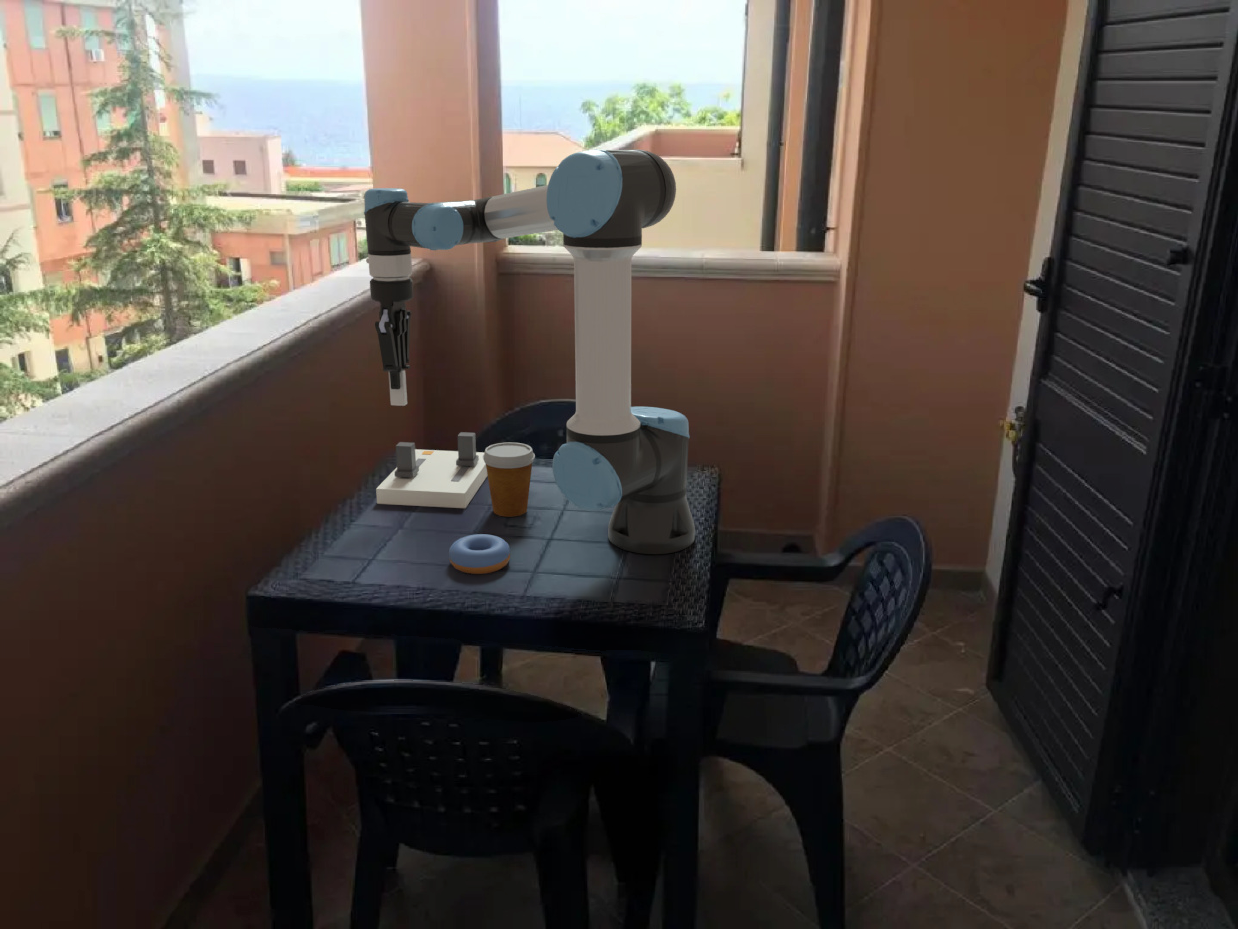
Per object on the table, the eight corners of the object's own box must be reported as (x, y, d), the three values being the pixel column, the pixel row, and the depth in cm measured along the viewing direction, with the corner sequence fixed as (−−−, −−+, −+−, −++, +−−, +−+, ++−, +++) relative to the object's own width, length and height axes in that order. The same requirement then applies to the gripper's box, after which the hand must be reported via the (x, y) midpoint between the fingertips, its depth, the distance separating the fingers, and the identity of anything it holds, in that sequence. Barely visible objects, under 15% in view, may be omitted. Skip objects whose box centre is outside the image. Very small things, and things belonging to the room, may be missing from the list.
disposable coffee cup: (532, 521, 177) (532, 458, 173) (480, 519, 178) (478, 457, 174) (538, 502, 186) (537, 442, 182) (488, 500, 187) (486, 441, 183)
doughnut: (441, 574, 155) (443, 547, 154) (455, 551, 165) (457, 526, 164) (503, 582, 155) (506, 555, 154) (513, 559, 165) (515, 534, 163)
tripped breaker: (412, 477, 188) (411, 447, 186) (394, 476, 189) (392, 447, 187) (419, 470, 192) (417, 441, 190) (401, 469, 192) (399, 440, 190)
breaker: (473, 466, 195) (472, 437, 193) (456, 465, 195) (455, 436, 193) (478, 459, 199) (477, 431, 197) (461, 459, 199) (460, 431, 197)
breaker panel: (465, 508, 183) (464, 492, 182) (377, 503, 184) (376, 488, 183) (493, 466, 205) (493, 452, 204) (414, 462, 207) (414, 448, 206)
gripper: (383, 272, 182) (391, 394, 189) (357, 282, 170) (367, 412, 177) (422, 273, 181) (429, 396, 189) (399, 283, 169) (407, 414, 176)
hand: (399, 404), depth 183 cm, fingers closed
